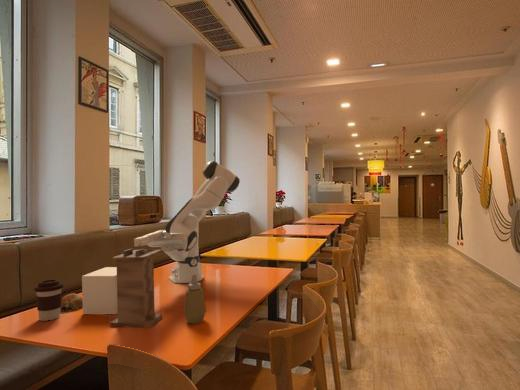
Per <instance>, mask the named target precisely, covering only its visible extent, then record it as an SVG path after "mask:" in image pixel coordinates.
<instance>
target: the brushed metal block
mask: <svg viewBox="0 0 520 390" xmlns="http://www.w3.org/2000/svg"><path fill="white" fill-rule="evenodd" d="M163 232H166V230H164V229H159V230H157V231H154V232H150V233H148V234H144V235H142V236H139V237H136V238H134V239H133V243H134V247H143V246H147V245H146V244H148V243H151V242H153V241H156V240H158V239H161V238H163V237H166V236H163Z"/></svg>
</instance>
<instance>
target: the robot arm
mask: <svg viewBox="0 0 520 390" xmlns="http://www.w3.org/2000/svg"><path fill="white" fill-rule="evenodd" d="M202 174H203V177H204V178H205V180H204V182H202V184H201V185H200V186H199V188H198V190H197V191H196V193H195V194H194V195H193V197H191V198H190V199H189V200H187V202H186V203H185V204H184V205H183V206H182V207H181V208H180V210H179V211H178V212H177V213H176V214H175V215H174V216H173V217H172V218H171V219H170V220H168V222H167V223H166V224H165V225H164V229H163V230H166V232H163V236H166V237H163V238H161V239H158V240H156V241H153V242H151V243H148V244H146V245H145V246H148V247H150V248H161V249H160V250H162V252H164V253H165V254H166V255H168V257H170V258H171V259H172V260H173V261H176V262H177V263H176V264H175V265H174V266H173V268H172V269H171V275H169V276H168V280H170V281H171V282H172V283H174V284H190V283H191V280H192V275H193V274H196V278H197V282H198V283H199V282H201V281H202V280H203V279H204V278H205V276H204V275H203V270H202V269H203V268H202V263H200V254H199V252H200V251H199V232H200V230H199V229H200V228H199V227H200V225H199V222H200V221H201V220H202V219H203V217H204V216H205V214H206V213H207V212H208V211H213V210H215V209H216V208H217V207H219V205H220V204H221V202H222V201H223V199H224V197H225V195H226V194H227V193H233V192H235V191H236V190H237V189H238V187H239V184H240V182H241V180H240V178H239V177H238V176H237V175H235V174H234V173H233V172H232V171H231V170H230V169H228V168H226V167H225V166H223V165H221V164H219V163H218V162H217V161H215V160H210V161H208V162H207V163H206V164H205V165H204V166H203V169H202Z"/></svg>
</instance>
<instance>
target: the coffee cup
mask: <svg viewBox="0 0 520 390" xmlns="http://www.w3.org/2000/svg"><path fill="white" fill-rule="evenodd" d="M33 288H34V292H36V296H35V298H36V308H37V312H38V313H37V314H38V320H40V321H41V322H49V321H48V320H50V321H54V320H57V319H59V318H60V316H61V311H60V307H61V300H62V298H63V292H62V289H63V288H64V283H63V282H60V281H59V279H46V280H42V281H39V283H38V284H37V285H35V286H34V287H33Z"/></svg>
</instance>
